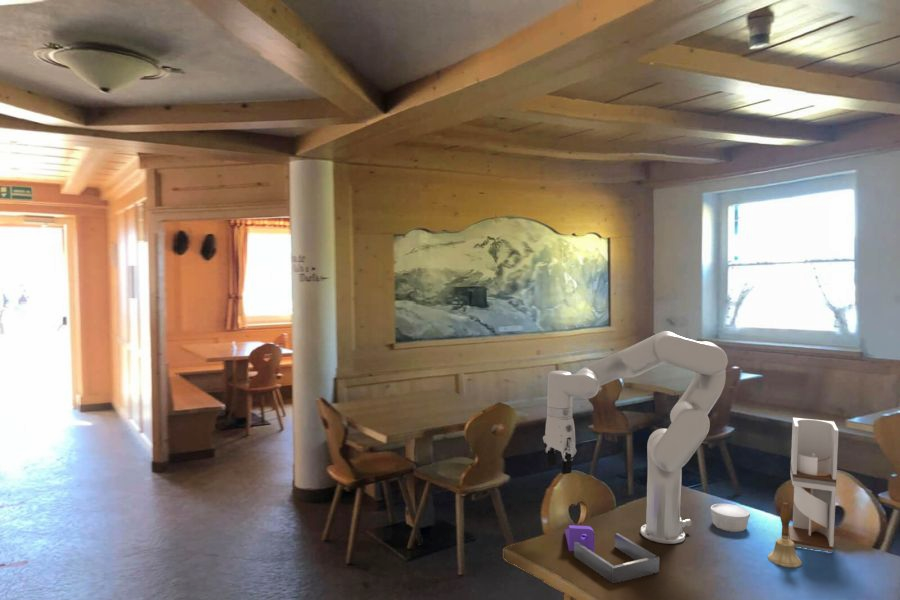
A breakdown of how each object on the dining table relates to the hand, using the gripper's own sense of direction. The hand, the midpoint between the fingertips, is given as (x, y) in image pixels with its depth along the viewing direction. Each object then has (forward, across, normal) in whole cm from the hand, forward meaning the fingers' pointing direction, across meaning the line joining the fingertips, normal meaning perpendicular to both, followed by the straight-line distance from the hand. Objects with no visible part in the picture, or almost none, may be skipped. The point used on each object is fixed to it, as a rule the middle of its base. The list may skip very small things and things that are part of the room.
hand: (558, 468), depth 196 cm
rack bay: (+18, -27, 0) cm, 32 cm away
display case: (+18, -39, -61) cm, 75 cm away
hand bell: (+18, -44, -44) cm, 65 cm away
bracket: (+18, -12, +1) cm, 22 cm away
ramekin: (+18, -21, -49) cm, 56 cm away
